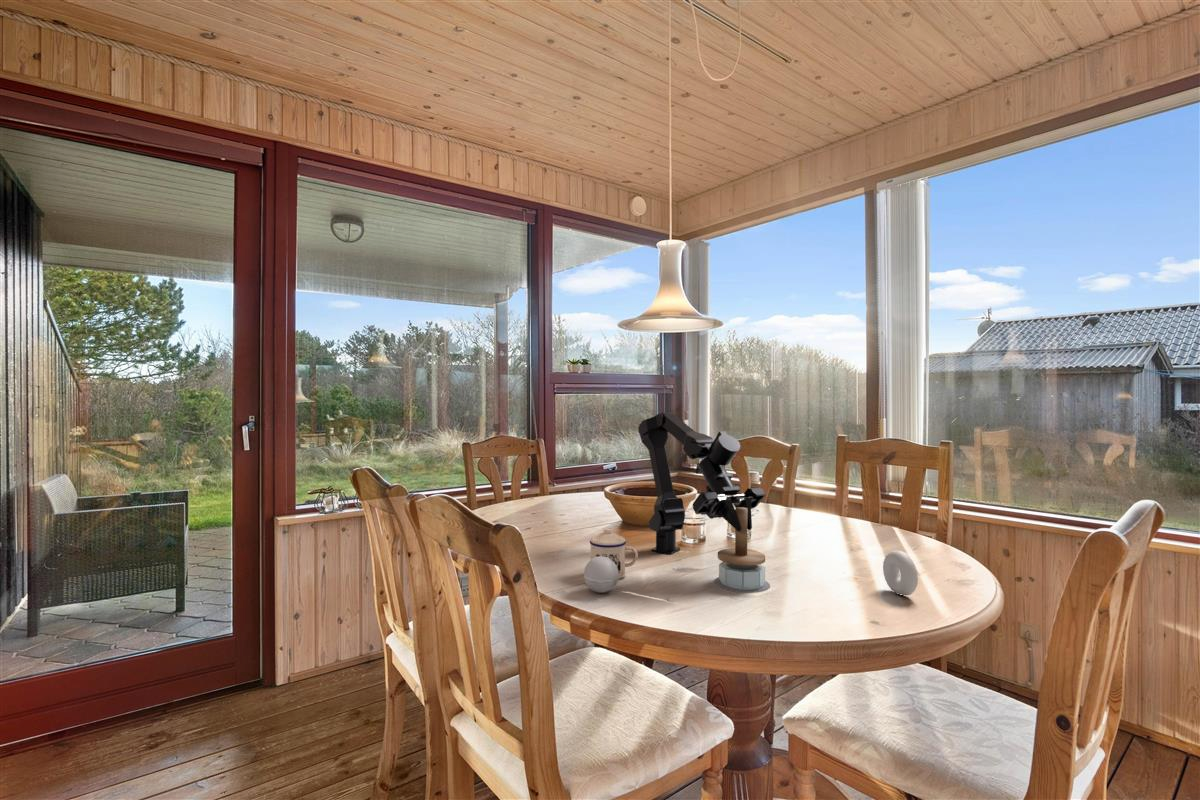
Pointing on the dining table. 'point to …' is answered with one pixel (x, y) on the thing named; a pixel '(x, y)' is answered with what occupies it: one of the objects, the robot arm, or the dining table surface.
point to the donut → (907, 569)
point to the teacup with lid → (612, 549)
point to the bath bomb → (601, 574)
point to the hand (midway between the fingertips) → (745, 529)
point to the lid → (741, 545)
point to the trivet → (764, 588)
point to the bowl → (742, 576)
